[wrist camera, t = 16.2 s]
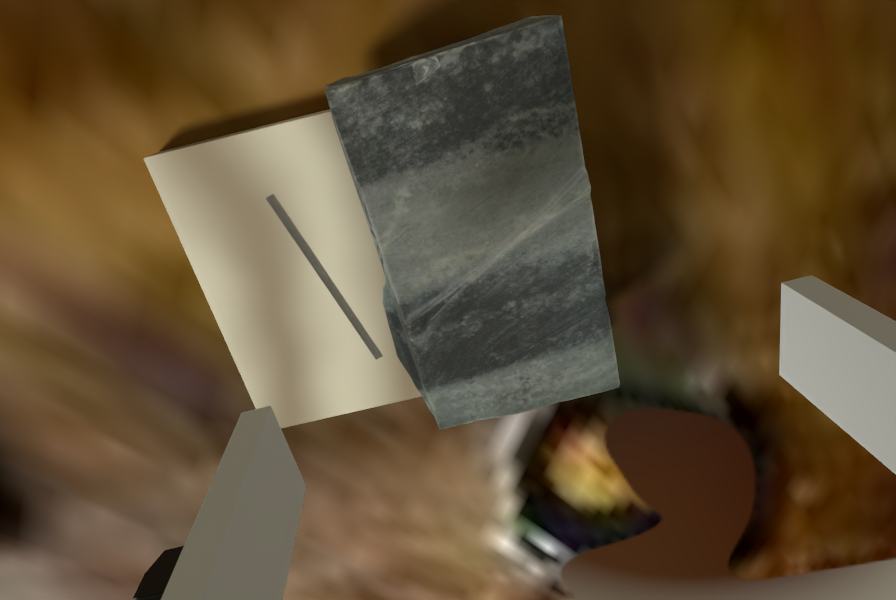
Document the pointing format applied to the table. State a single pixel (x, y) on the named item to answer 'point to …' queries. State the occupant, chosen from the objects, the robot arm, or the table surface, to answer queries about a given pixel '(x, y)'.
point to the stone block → (482, 221)
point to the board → (286, 266)
